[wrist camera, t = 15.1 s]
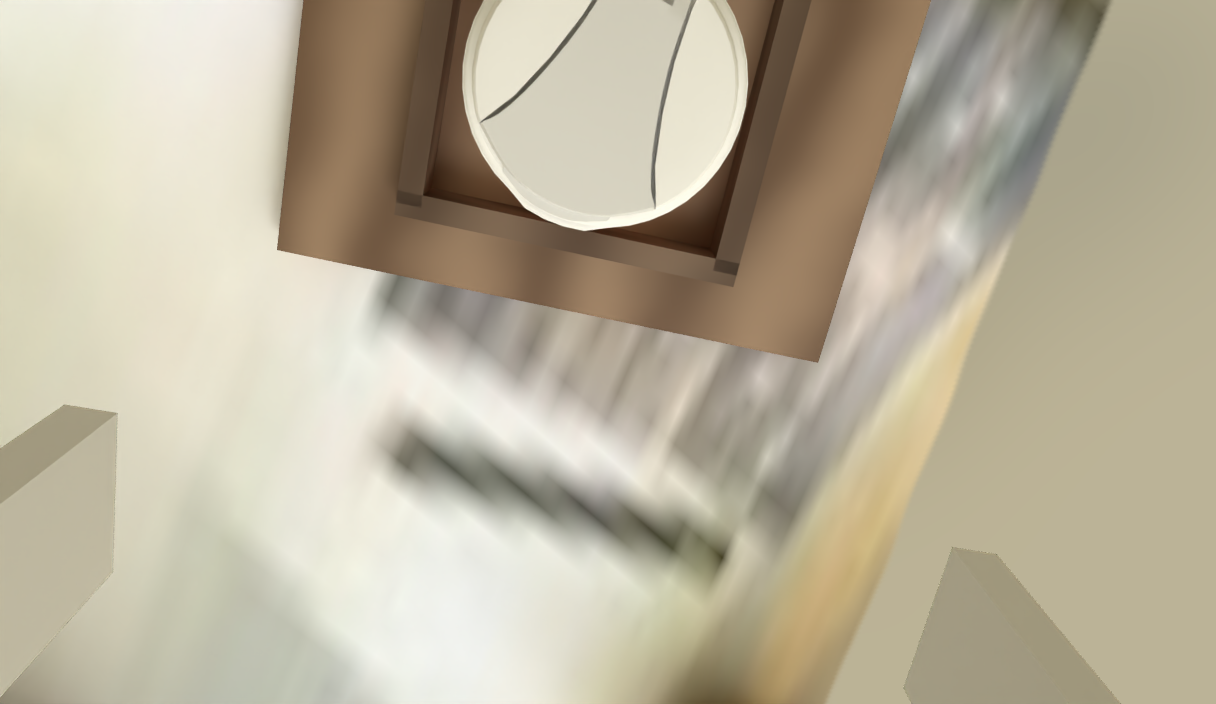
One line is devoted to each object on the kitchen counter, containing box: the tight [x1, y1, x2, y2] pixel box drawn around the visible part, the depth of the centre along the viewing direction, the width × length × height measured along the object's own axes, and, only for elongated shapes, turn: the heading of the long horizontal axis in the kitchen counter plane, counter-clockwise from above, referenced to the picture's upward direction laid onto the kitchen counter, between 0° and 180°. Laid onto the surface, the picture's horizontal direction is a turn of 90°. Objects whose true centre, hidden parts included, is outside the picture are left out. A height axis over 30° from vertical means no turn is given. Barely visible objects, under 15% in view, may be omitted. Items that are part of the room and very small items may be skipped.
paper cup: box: [462, 0, 748, 231], centre depth 30 cm, size 8×8×14 cm
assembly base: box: [277, 0, 931, 363], centre depth 36 cm, size 24×20×4 cm
